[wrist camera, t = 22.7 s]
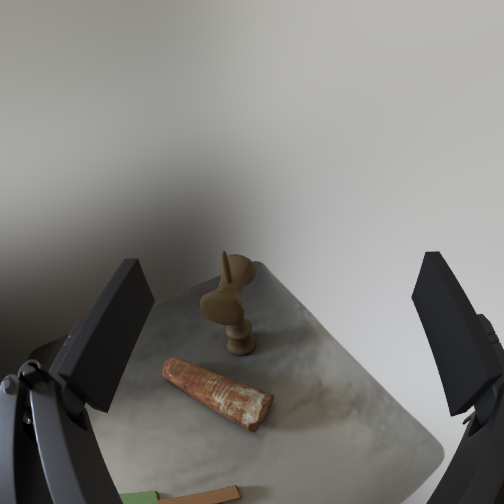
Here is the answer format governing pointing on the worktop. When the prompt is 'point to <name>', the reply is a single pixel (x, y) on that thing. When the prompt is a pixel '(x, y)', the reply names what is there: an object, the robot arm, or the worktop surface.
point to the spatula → (184, 497)
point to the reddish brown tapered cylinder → (220, 393)
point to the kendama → (232, 303)
